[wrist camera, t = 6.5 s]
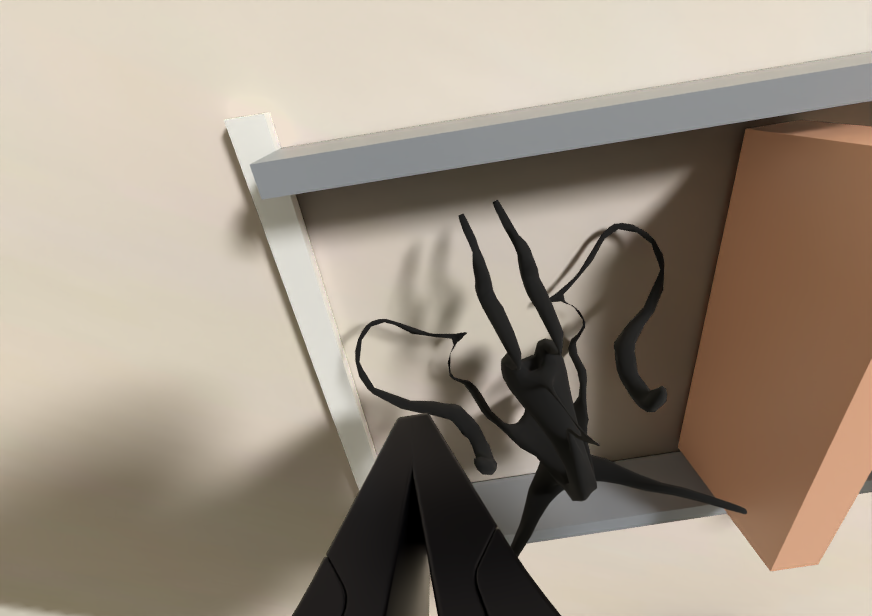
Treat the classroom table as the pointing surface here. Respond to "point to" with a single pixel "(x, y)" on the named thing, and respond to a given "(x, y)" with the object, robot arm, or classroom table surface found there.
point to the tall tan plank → (789, 341)
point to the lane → (491, 142)
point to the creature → (548, 391)
